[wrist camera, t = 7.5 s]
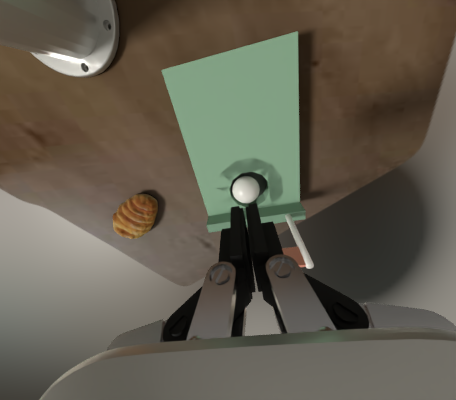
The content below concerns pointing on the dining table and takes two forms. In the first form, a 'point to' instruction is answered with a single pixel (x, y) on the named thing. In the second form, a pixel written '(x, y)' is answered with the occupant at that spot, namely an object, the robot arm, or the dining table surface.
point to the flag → (297, 252)
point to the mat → (242, 126)
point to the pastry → (135, 216)
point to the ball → (245, 189)
